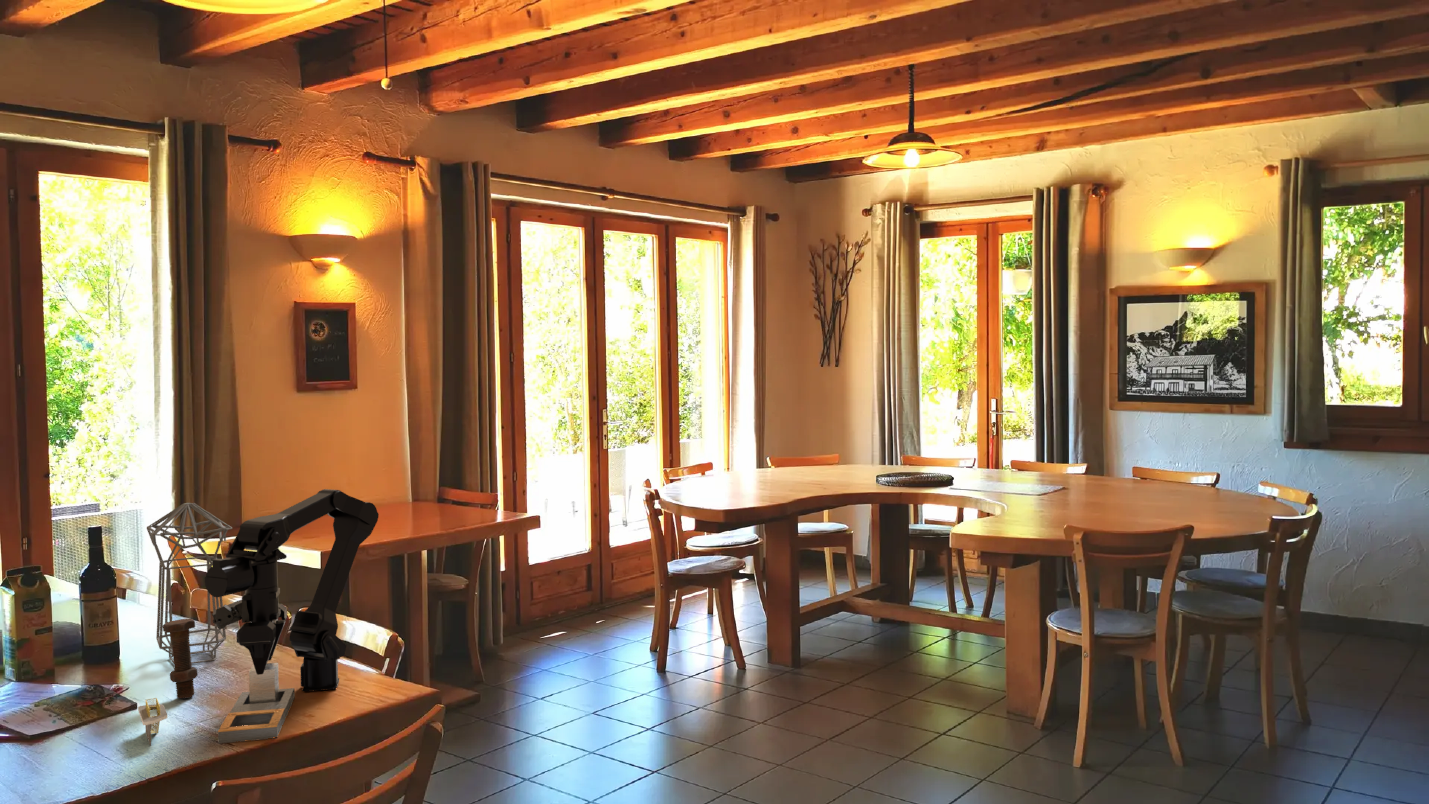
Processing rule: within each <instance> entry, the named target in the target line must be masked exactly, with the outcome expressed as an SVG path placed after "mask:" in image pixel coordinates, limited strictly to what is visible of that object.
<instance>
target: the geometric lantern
mask: <svg viewBox="0 0 1429 804" xmlns="http://www.w3.org/2000/svg"><path fill="white" fill-rule="evenodd" d="M192 510H194V511H195V512H196V513H198V514H199V515H201V516H202V517H204V518H205V519H206V520H205V521H200V522H196V520H195V517H194V514H193V511H192ZM187 513H188V515H189V520H190V523H191V525H190V526H185V524H186V519H187V518H186V517H187ZM181 514H182V516H181ZM180 516H181V519H180V523H179V525H173V523H174V522H176V520H177V519H178V518H179V517H180ZM169 523H170V524H169ZM167 524H169V525H167ZM212 524H214V525H215V526H216V527H218V528H215V529H210V530H206V529H207V528H208V527H209V526H210V525H212ZM223 524H224V525H223ZM201 525H204V526H203V527H202V528H201V529H200V530H198V531H197V528H198V526H201ZM168 529H180V531H179V532H171V531H168ZM189 529H191V530H192V529H193V530H192V531H184V530H189ZM232 529H233V527H232V526H230V525H229V524H227V523H226V522H224V521H223V520H221V519H219V518H218V517H216V516H215V515H213V514H212V513H211V512H209V511H207V510H205V509H204V508H202V506H199V505H198V504H197V503H195V502H193V503H192V502H186V503H182V504H181V505H179V506H177V507H176V508H174V509H173V510H171V511H170V512H168V513H166V514H165V515H163V516H161V517H160V518H159V519H157V520H155V521H154V522H152V523H151V524H150V525H148V526H146V530H147V533H148V536H149V538H150V541H151V543H152V545H153V547H154V549H155V552H156V555H157V558H158V560H159V568H158V569H159V571H158V589H157V590H158V593H157V595H158V596H157V614H156V615H157V616H156V617H157V618H156V619H157V620H156V622H157V623H156V642H157V644H158V645H157V646H158V648H159V649H160V650H163V651H165V652H166V653H167V654H168V658H169V660H170V661H171V662H172V664H173V665H174V662H173V661H174V660H173V656H174V655H173V652H172V651H173V650H172V649H173V648H172V643H171V639H170V640H169V638H170V633H167V632H164V631H163V625H164V624H165V623H167V622H170V621H173V606H172V604H173V603H172V582H171V581H172V576H171V570H175V569H186V568H196V567H197V568H198V567H206V573H207V572H208V570H209V569H210V568H211V567H213V560H215V559H218V552H219V550H220V547H221V545H222V542H223V541H224V542H226V540H227V533H228V531H229V530H232ZM211 533H212V534H211ZM206 534H210V535H209V536H207V537H206V538H204V539H202V540H200V539H199V536H201V535H206ZM184 535H193V536H184ZM216 535H218V539H219V541H218V542H217V545H216V546H217V547H216V550H215V551H214V554H213V555H211V556H210V555H208V554H207V551H205V549H204V547H203V546H202V544H203V543H205V542H207V541H208V540H210V539H212V538H213V537H215V536H216ZM157 536H160V537H161V538H162V539H163V538H164V539H165V540H167V541H168V542H170V543H172V544H173V545H174V547H173V548H172V550H171V552H170V554H169V557H168V559H166V560H165V559H163V557H162V554H161V551H160V549H159V546H158V544H157V539H156V538H157ZM168 536H172V537H174V538H177V540H173V539H172V538H171V537H168ZM195 539H196V540H195ZM185 540H192V541H193V542H194V544H188V545H186V542H185ZM199 540H200V541H199ZM180 541H181V542H182V544H180ZM177 547H179V549H178V550H177V552H176V553H175V551H176V549H177ZM193 547H198V549H199V550H200V552H202V553H203V556H193V557H185V558H176V557H177V556H178V555H179V553H180V552H181V550H182V549H190V548H193ZM174 553H175V554H174ZM173 555H174V556H173ZM172 557H173V558H172ZM195 559H206V564H196V565H195V564H193V565H183V566H182V565H181V566H173V567H172V566H171V567H170V565H171V564H172V563H173V562H175V561H187V560H195ZM165 563H166V564H165ZM165 576H166V577H165ZM206 591H207V590H206ZM206 593H207V628H201V629H196V630H189V634H194V633H195V634H196V633H202V632H203V633H204V632H207V633H206V636H205V639H204V642H203V641H202V642H194V643H190V647H197V646H202V650H198V651H190V652H191V653H190V654H191V656H192V655H198V654H206V653H209V654H210V655H211V659H204V660H197V661H193V662H192V661H191V662H192V663H191V664H192V665H194V664H201V663H206V662H207V663H208V662H215V660H217V649H218V648H219V647H220V646H221V645H222V644H223V643H224V642H225V641H226V639H227V636H226V627H225V628H222V629H218V627H217V625H216V624H215V623H213V624H214V628H213V627H211V603H212V611H213V613H214V612H215V610H216V609H217V608H218V607H222V606H224V602H223V596H222V597H213V596H212V595H211V594H210V593H209V592H208V591H207V592H206ZM211 599H212V602H211ZM164 601H165V602H164ZM164 603H165V605H164ZM164 607H165V608H164ZM164 609H165V610H164ZM164 612H165V613H164ZM213 613H212V614H213ZM168 616H169V617H168ZM168 618H169V621H168ZM212 631H213V632H214V636H213V637H212V638H211V639H210V640H209V641H208V639H209V636H210V635H209V634H210V632H212ZM163 632H164V634H163ZM219 634H220V635H221V636H222V637H221V638H220V639H219ZM164 638H165V640H166V641H167V643H168V644H166V643H165V641H163V639H164ZM214 644H215V645H214ZM205 645H207V650H205V649H206V648H205ZM213 645H214V646H213ZM210 648H211V649H210Z"/></svg>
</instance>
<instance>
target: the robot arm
mask: <svg viewBox="0 0 1429 804" xmlns="http://www.w3.org/2000/svg"><path fill="white" fill-rule="evenodd" d="M377 509H378V508H377V507H376V505H375V504H374V503H373V502H371V501H364V500H361V499H359V498H356V497H353V496H351V495H348V494H347V493H345V492H344V491H342V490H340V489H332V488H331V489H328V488H327V489H326V488H325V489H321V490H319V491H317V493H315V494H314V495H312V496H310V497H308V498H306V499H304V500H301V501H300V502H298V503H296V504H293V505H291V506H289V507H288V508H286V509H283V510H282V511H280V512H278V513H275V514H270V515H263V516H258V517H254V518H250V519H247V520H244V521H243V522H242V523H241V524H240V526H239V530H238V533H237V534H236V536H235V538H234V540H233V542H232V544H231V545H230V548H229V549H228V551H227V553H226V555H225V558H217V559H215V560H213V566H212V567H211V568H210V569H209V570H208V572H207V571H206V574H205V577H204V585H205V588H206V591H208V592H209V593H210V596H211V597H212V596H213V597H215V598H216V597H218V598H219V597H222V598H223V597H225V596H228V595H232V594H233V595H234V594H238V593H242V592H244V593H243V595H242V596H241V599H240V600H237V601H234V602H231V603H228V604H223V606H222V607H220V606H219V607H218V608H217V607H216V610H215V612H214V613H212V614H211V616H212V618H213V620H212V623H213V624H214V623H215V624H216V625H217V628H218V629H221V630H223V629H222V628H225V629H226V627H227V626H230V625H231V624H234V623H236V622H239V621H241V624H242V625H241V626H240V627H239V628H238V630H237V631H236V643H237V644H239V645H240V646H242V647H244V648H246V649H247V650H248V652H249V654H250V657H251V661H252V665H254V667H255V670H256V673H257V675H260V674H263V673H264V670H265V667H266V665H267V663H268V662H270V661H272V659H273V656H274V654H275V651H276V648H277V645H278V642H279V640H280V638H281V637H280V636H281V634H282V632H283V629H284V626H285V623H286V619H287V617H288V608H287V607H286V606H285V605H284V604H283V603H279V596H280V593H281V588H280V587H279V578H278V577H279V575H278V568H279V567H278V561H280V560H285V559H287V557H288V556H287V554H285V553H284V552H283V551H281V550H280V547H281V546H282V545H284V544H285V543H287V542H288V541H289V539H290V537H291V535H292V534H293V533H294V532H295V531H297V530H299V529H301V528H303V527H305V526H308V525H309V524H311V523H313V522H315V521H316V520H318V519H321V518H322V517H324V516H326V515H327V516H329V517H330V518H332V519H333V522H332V527H333V533H334V538H335V539H334V542H333V545H332V546H331V550H330V553H329V554H328V555H329V556H328V558H327V561H326V563H325V566H324V570H323V571H322V574H321V577H320V579H319V582H318V585H317V586H316V587H317V588H316V591H315V593H314V596H313V598H312V602H311V604H310V606H308V607H307V608H306V609H305V610H297V611H296V613H294V614H295V616H294V619H293V623H292V625H291V626H290V627H289V631H290V634H289V641H290V643H291V646H292V648H293V651H294V653H295V656H296V658H303V660H302V661H303V662H302V663H301V666H300V687H301V690H302V691H308V692H316V691H315V690H320V691H330V690H329V689H333V690H336V688H337V689H338V686H339V684H340V683H339V682H340V677H339V664H338V663H339V662H338V660H339V659H340V658H341V657H344V656H345V653H346V650H347V644H346V643H345V642H344V641H342V640H341V639H340V638H339V637H338V636H337V633H338V628H339V624H338V617H337V614H336V611H337V608H338V606H339V603H340V600H341V596H342V594H343V591H344V589H345V586H346V583H347V580H348V578H349V575H350V571H351V569H352V566H353V564H354V561H355V559H356V558H355V557H356V555H357V553H358V550H359V547H360V545H362V543H364V542H365V541H366V540H367V539H368V538H369V537H370V536H371V535H372V533H373V531H374V530H375V529H374V528H375V527H376V525H377V524H378V521H379V520H378V519H379V512H378V510H377ZM279 618H281V619H279ZM313 690H314V691H313Z"/></svg>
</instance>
